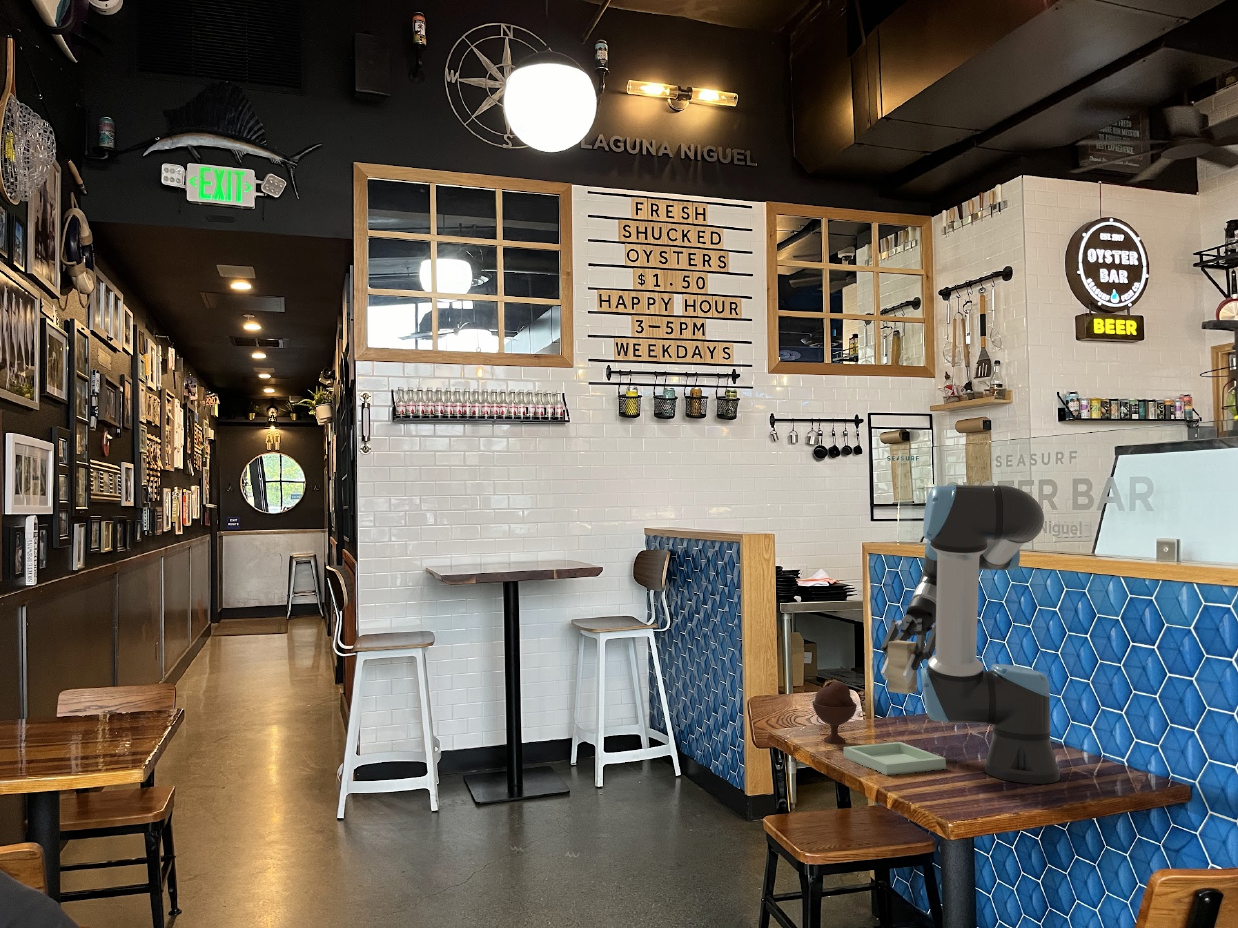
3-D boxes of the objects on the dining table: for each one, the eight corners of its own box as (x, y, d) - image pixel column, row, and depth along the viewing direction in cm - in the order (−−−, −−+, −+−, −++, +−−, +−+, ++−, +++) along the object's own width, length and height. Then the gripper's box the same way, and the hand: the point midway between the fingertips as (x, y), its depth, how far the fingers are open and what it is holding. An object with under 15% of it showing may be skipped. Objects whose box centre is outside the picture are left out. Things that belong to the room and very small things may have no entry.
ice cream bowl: (852, 736, 234) (852, 677, 235) (859, 747, 223) (859, 685, 224) (810, 735, 235) (810, 676, 236) (815, 746, 224) (815, 684, 225)
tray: (945, 769, 204) (945, 758, 205) (886, 775, 199) (886, 764, 199) (899, 751, 219) (899, 741, 219) (843, 757, 214) (843, 746, 214)
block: (898, 688, 227) (897, 640, 228) (917, 691, 224) (916, 642, 224) (888, 691, 223) (887, 641, 224) (907, 694, 220) (906, 643, 221)
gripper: (964, 618, 229) (935, 692, 216) (898, 612, 242) (867, 682, 229) (954, 597, 226) (924, 671, 213) (888, 593, 239) (855, 663, 226)
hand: (895, 677), depth 221 cm, fingers closed on block, 5 cm apart
